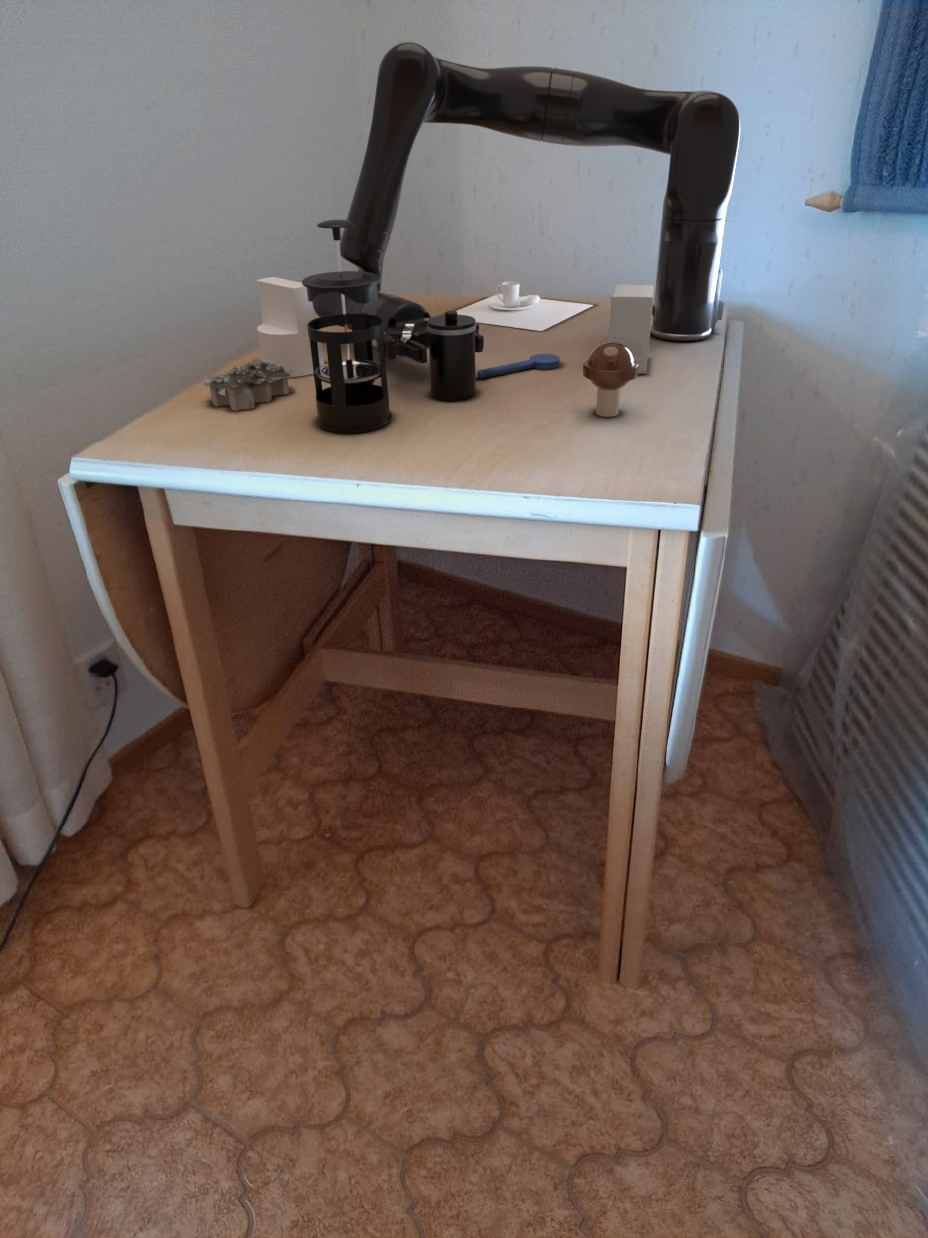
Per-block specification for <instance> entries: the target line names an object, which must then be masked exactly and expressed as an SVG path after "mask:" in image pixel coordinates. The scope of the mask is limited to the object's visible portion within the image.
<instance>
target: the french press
mask: <svg viewBox="0 0 928 1238" xmlns="http://www.w3.org/2000/svg"><path fill="white" fill-rule="evenodd" d="M354 225H355V223H354V222H352V221H348V220H346V219H327V220H324V221H320V222H319V223H317V224H316V227H317V228H319V229H331V232H332V239H333V241H335V245H336V254H337V255H336V256H337V264H338V265H337V266H338V271H329V272H322V273H316V274H312V275H309V276H306V277H304V278H303V279H302V280H301V283H302V285H303V286H305V287H307V295H308V301H309V302H312V301H313V300H314V298H315V297H316V296H317V295H319V294H323V293H328V292H338V293H341V298H342V308H343V314H334V315H327V316H322V317H319V316H318V317H316V318H314V319H313V320H311V321H309V322H308V324H307V329H308V336H309V338H310V347H311V355H312V364H313V372H314V374H313V379H314V387H315V388H314V389H315V404H316V413H317V416H316V424H317V426H318V427H319V429H321V430H324V431H326V432H329V433H333V434H334V433H335V434H346V435H347V434H362V433H363V434H364V433H368V432H373V431H376V430H380V429H382V428H384V427H387V426H388V425H389V424H390V423H391V422H392V419H393V415H392V412H391V409H390V397H389V386H388V385H389V384H388V371H387V359H386V356H385V342H384V324H383V319H382V318H380V317H378V316H375V315H370V313H369V312H355V313H346V309H345V298H344V295H345V296H346V297H348V298H349V299H351V300H353V301H355V302H356V303H361V304H365V303H369V302H372V301H374V300H376V299H377V298H378V294H377V283H379V282H380V276H379V275H377V274H374V273H369V272H360V271H358V270H343V267H342V257H341V255H340V245H339V244H340V240H342V239H341V237H342V229H344V228H345V227H351V226H354ZM350 324H352V330H351V331H349V329H347V325H350ZM337 325H344V327H343V328H344V331H325V330H321V329H325V328H329V327H335V326H337ZM371 326H374V327H373V328H371ZM318 329H320V331H319V330H318ZM376 338H378V345H379V354H378V356H379V362H378V361H374V351H373V345H372V340H373V339H376ZM317 342H320V343H322V344H325V346H326V347H325V348H326V355H327V363H324V365H322V366H320V363H319V354H318V346H317ZM351 344H352V345H353V352H354V353H353V356H354V359H351V352H350V345H351ZM342 345H345V350H346V358H347V359H343V354H342ZM379 379H380V384H381V385H378V384H375V383H376V380H379ZM323 383H326V384H329V385H330V386H328V387H324V388H323Z"/></svg>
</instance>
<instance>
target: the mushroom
mask: <svg viewBox="0 0 928 1238" xmlns="http://www.w3.org/2000/svg"><path fill="white" fill-rule="evenodd" d="M637 372H638V363H637V361H635V360H634V358H633V355H632V353H631V351H630V350H629V349H628V348H627V347H626V346H625V345H623V344H621V343H618V342H609V341H605V342H602V343H600V344H599V345H597V346H596V347H594V348H593V349H592V350H591V352H590V354H589V356H588V358H586V359H585V360H584V361H583V364H582V375H583V378H586V379H587V380H589V381H590V383H591V384H592V385H594V386H595V387H596V388H597V390H596V391H597V392H596V406H595V414H596V415H598V416H599V417H603V418H604V417H605V418H612V417H616V416H618V415H619V410H620V400H621V399H620V397H621V389H622V388H624V387H625V386H626V385H627V384H628V383H630V381H633V380H634V379H636V378H637V376H638V374H637Z"/></svg>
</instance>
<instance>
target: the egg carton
mask: <svg viewBox="0 0 928 1238" xmlns="http://www.w3.org/2000/svg"><path fill="white" fill-rule="evenodd" d="M292 372H293V371H292V370H290V371H289V372H287V371H286V370H284V368H283V366H280V367H278V366H277V365H275V364H271V363H270V362H268V363H265V362H263V361H262V359H261V358H258V357H255V358H254V359H253V360H251V361H250V362H248V363H247V364H244V365H240V366H239V367H237V366H234V367H232V369H230V370H226V371H224V372H223V373H221V374H210V375H208V376H206V377H205V380H204V382H203V386H204V387H209V390H210V398H211V402H212V404H213V406H215V407H221V406H229V407H230V409H231V411H235V412H237V411H241V410H251V409H252V410H253V408H255V404H257V403H258V404H259V403H268V402H271V401H272V400H273V398H272V397H274V396H286V395H288V394H290V390H289V389H290V386H289V380H288V379H291V378H292V377H291V375H290V374H291V373H292Z"/></svg>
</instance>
